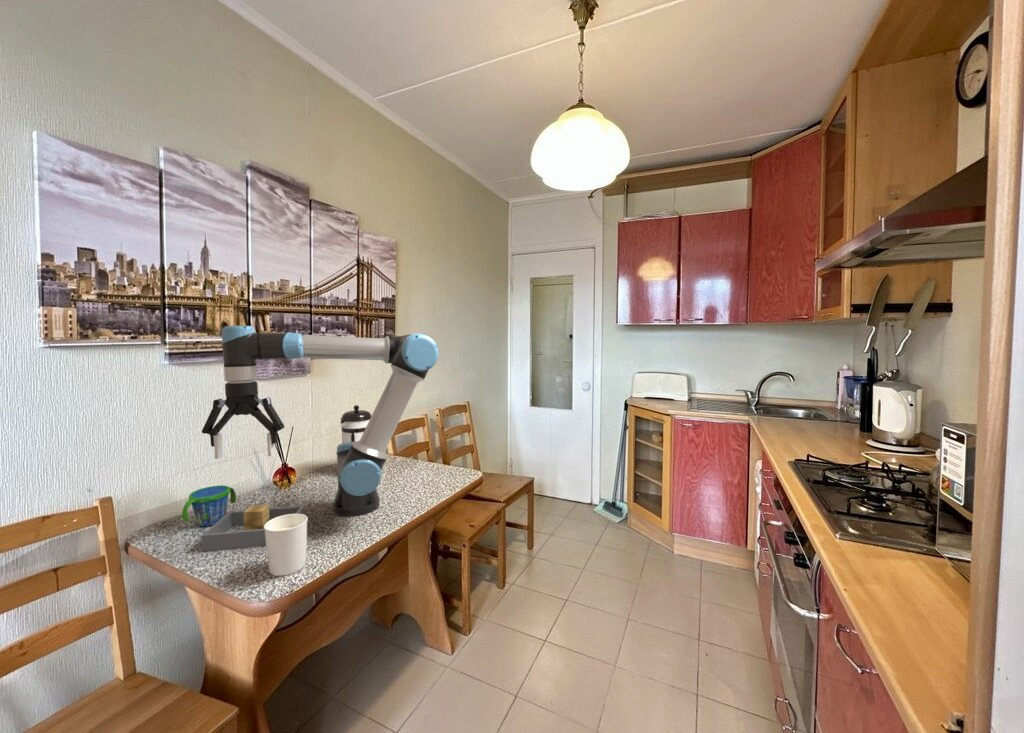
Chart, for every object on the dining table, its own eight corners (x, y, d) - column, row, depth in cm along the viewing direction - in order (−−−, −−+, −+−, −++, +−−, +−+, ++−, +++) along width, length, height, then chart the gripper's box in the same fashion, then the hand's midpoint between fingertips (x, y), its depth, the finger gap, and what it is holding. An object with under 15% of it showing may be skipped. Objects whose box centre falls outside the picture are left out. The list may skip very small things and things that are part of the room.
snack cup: (193, 536, 120) (191, 503, 119) (173, 529, 124) (171, 497, 123) (246, 515, 134) (245, 485, 133) (227, 509, 138) (225, 480, 137)
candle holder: (288, 554, 109) (286, 511, 108) (317, 559, 106) (316, 516, 106) (256, 574, 100) (254, 527, 99) (287, 581, 97) (285, 533, 96)
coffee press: (372, 478, 168) (370, 408, 166) (334, 479, 168) (331, 408, 166) (384, 465, 186) (383, 401, 183) (350, 465, 185) (347, 401, 183)
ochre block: (270, 529, 124) (269, 504, 123) (263, 537, 119) (262, 511, 118) (252, 531, 123) (250, 505, 122) (244, 539, 118) (243, 512, 117)
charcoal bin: (305, 518, 131) (304, 505, 130) (288, 543, 115) (287, 528, 115) (229, 525, 126) (229, 511, 126) (201, 551, 111) (200, 536, 110)
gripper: (294, 378, 117) (297, 450, 118) (200, 381, 113) (205, 454, 115) (283, 381, 109) (287, 457, 111) (182, 384, 106) (188, 462, 107)
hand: (245, 456), depth 113 cm, fingers open, 13 cm apart
